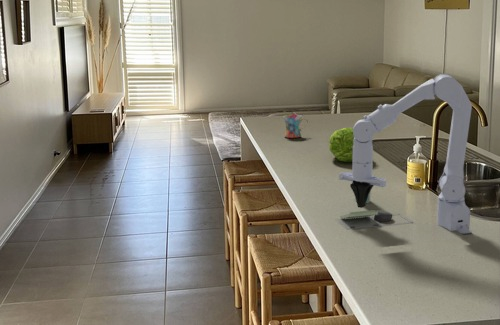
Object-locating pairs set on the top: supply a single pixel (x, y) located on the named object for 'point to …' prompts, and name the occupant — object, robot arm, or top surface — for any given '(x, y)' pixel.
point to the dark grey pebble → (383, 216)
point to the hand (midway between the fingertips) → (361, 206)
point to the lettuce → (342, 144)
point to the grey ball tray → (365, 222)
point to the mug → (293, 125)
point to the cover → (359, 214)
